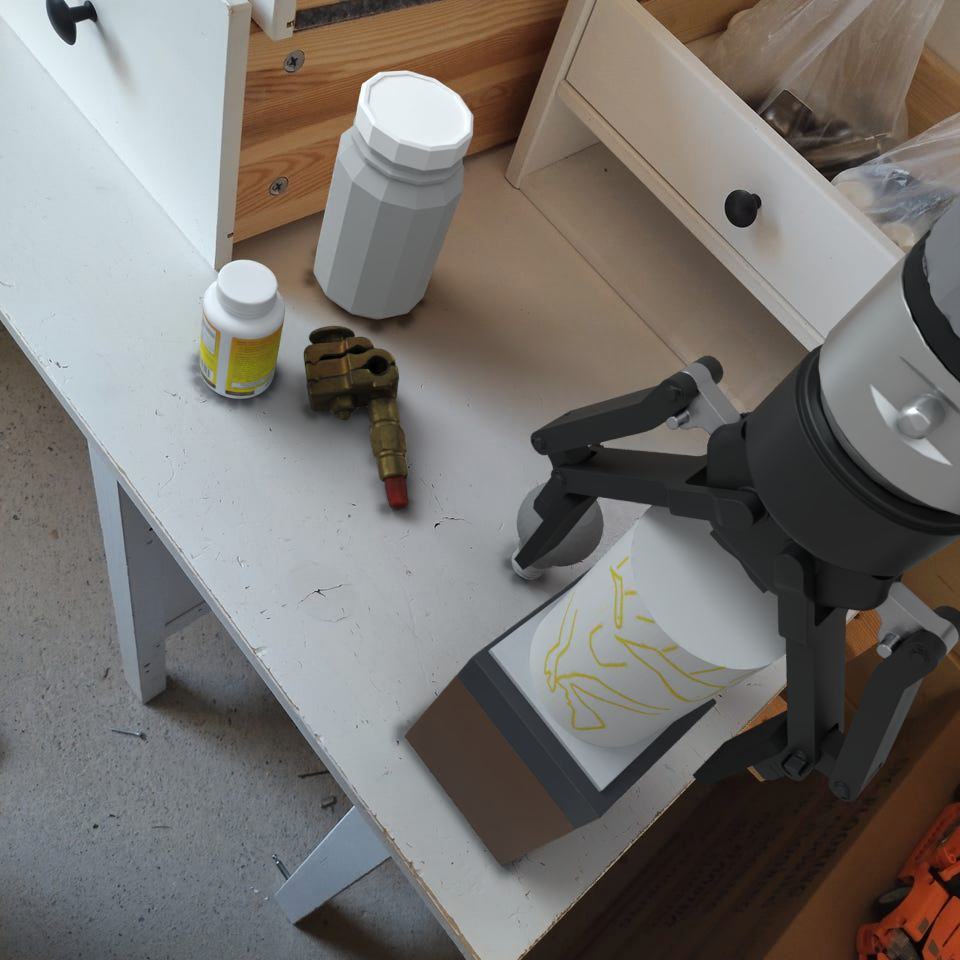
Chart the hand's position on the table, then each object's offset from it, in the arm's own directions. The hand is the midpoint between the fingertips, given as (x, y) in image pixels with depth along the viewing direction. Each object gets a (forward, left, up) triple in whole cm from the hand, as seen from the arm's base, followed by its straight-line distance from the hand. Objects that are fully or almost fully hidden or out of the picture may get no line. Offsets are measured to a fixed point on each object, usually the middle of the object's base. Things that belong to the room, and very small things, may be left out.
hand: (621, 654), depth 45 cm
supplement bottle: (+34, -1, -18) cm, 39 cm away
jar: (+37, -16, -18) cm, 44 cm away
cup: (0, 0, -3) cm, 3 cm away
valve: (+25, -6, -18) cm, 32 cm away
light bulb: (+9, -10, -18) cm, 23 cm away
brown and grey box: (0, 0, -18) cm, 18 cm away
